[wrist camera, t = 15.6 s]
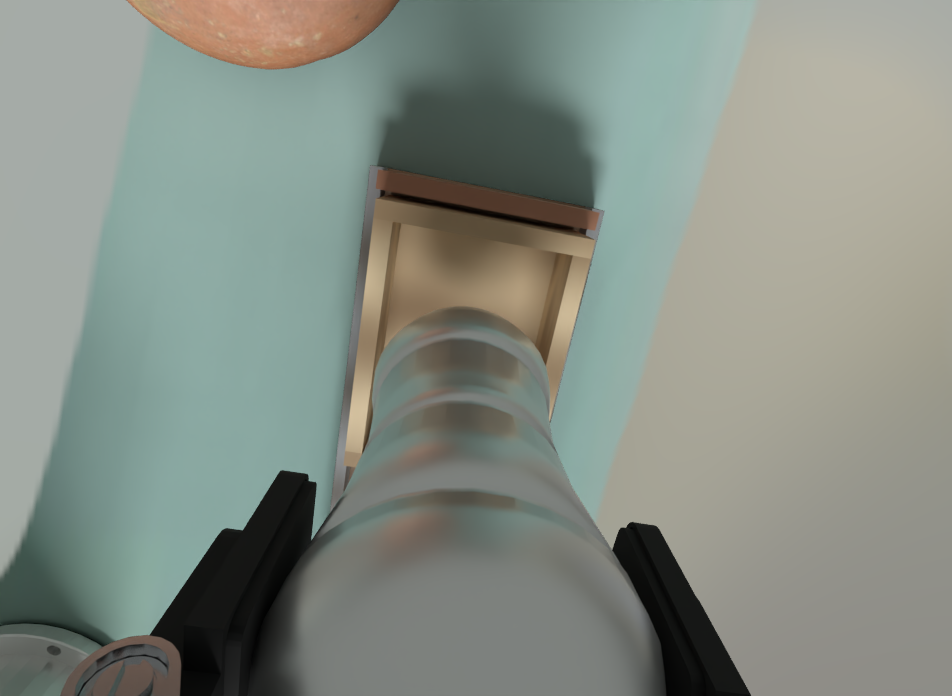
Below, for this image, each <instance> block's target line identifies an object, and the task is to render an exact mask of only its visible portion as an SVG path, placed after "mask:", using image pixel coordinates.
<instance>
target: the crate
mask: <svg viewBox="0 0 952 696" xmlns="http://www.w3.org/2000/svg"><path fill="white" fill-rule="evenodd" d="M595 241H596V240H594V239H592V238H590V237H588V236H586V235H584V234H582V233H580V232H578V231H576V230H573V229H567V228H562V227H557V226H552V225H546V224H541V223H536V222H531V221H526V220H520V219H515V218H510V217H505V216H499V215H494V214H489V213H484V212H479V211H473V210H468V209H463V208H458V207H452V206H447V205H442V204H437V203H432V202H426V201H421V200H416V199H411V198H405V197H400V196H395V195H387V196H383V197H379V198H376V201H375V209H374V217H373V225H372V234H371V242H370V250H369V258H368V267H367V275H366V283H365V291H364V300H363V308H362V316H361V324H360V333H359V341H358V349H357V357H356V365H355V374H354V382H353V390H352V398H351V407H350V415H349V423H348V431H347V440H346V448H345V456H344V464H343V466H350V467H356V466H357V464H358V462H359V460H360V457H361V456H362V454H363V452H364V449H365V447H366V445H367V443H368V440H369V435H370V429H371V424H372V419H373V405H372V393H373V383H374V376H375V369H376V367H377V364H378V361H379V359H380V356H381V354H382V352H383V351H384V349H385V348H386V346H387V345H388V343H389V342H390V340H391V339H392V338H393V337H394V336H395V335H396V334H397V333H398V332H399V331H400V330H402V329H403V328H404V327H405V326H407V325H408V324H410V323H411V322H413V321H414V320H416V319H417V318H419V317H420V316H422V315H424V314H427V313H429V312H432V311H434V310H437V309H442V308H447V307H454V306H469V307H474V308H480V309H484V310H487V311H490V312H492V313H495V314H498V315H499V316H501V317H503V318H504V319H506V320H508V321H509V322H511V323H512V324H514V325H515V326H516V327H517V328H519V329H520V330H521V331H522V332H523V333H524V334H525V335H526V336H527V337H528V338H529V339H530V340H531V341H532V342H533V344H534V345H535V347H536V348H537V349H538V351H539V352H540V354H541V356H542V359H543V361H544V363H545V366H546V369H547V374H548V379H549V388H550V414H549V422H550V418H551V414H552V410H553V406H554V402H555V398H556V394H557V390H558V387H559V383H560V379H561V375H562V371H563V367H564V363H565V359H566V355H567V351H568V347H569V343H570V339H571V336H572V332H573V328H574V324H575V320H576V316H577V312H578V308H579V304H580V300H581V296H582V292H583V289H584V285H585V281H586V277H587V273H588V269H589V265H590V261H591V257H592V253H593V249H594V245H595Z"/></svg>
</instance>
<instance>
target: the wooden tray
mask: <svg viewBox="0 0 952 696" xmlns="http://www.w3.org/2000/svg"><path fill="white" fill-rule="evenodd" d="M387 195H395V196H400V197H405V198H411V199H416V200H421V201H426V202H432V203H437V204H442V205H447V206H452V207H458V208H463V209H468V210H473V211H479V212H484V213H489V214H494V215H499V216H505V217H510V218H515V219H520V220H526V221H531V222H536V223H541V224H546V225H552V226H557V227H562V228H567V229H573V230H576V231H578V232H580V233H582V234H584V235H586V236H588V237H590V238H592V239H594V240H596V241H595V245H594V249H593V253H592V257H591V261H590V265H589V269H588V273H587V277H586V281H585V285H586V282H587V278H588V274H589V270H590V266H591V262H592V258H593V254H594V250H595V246H596V242H597V239H598V235H599V231H600V227H601V223H602V219H603V215H604V211H603V210H599V209H595V208H590V207H585V206H580V205H575V204H569V203H564V202H559V201H554V200H549V199H544V198H539V197H534V196H528V195H523V194H518V193H513V192H508V191H503V190H498V189H493V188H488V187H482V186H477V185H472V184H467V183H462V182H457V181H452V180H447V179H442V178H436V177H431V176H426V175H421V174H416V173H411V172H406V171H401V170H395V169H390V168H385V167H380V166H373V165H370V171H369V180H368V189H367V197H366V206H365V215H364V223H363V232H362V240H361V249H360V258H359V266H358V275H357V284H356V292H355V301H354V310H353V318H352V327H351V335H350V344H349V353H348V361H347V370H346V379H345V387H344V396H343V404H342V413H341V422H340V430H339V439H338V448H337V456H336V465H335V473H334V482H333V491H332V499H331V508H330V512H331V511H332V509H333V508H334V506H335V505H336V503H337V502H338V500H339V499H340V497H341V496H342V494H343V493H344V491H345V489H346V487H347V485H348V483H349V481H350V479H351V477H352V475H353V472H354V470H355V468H356V467H350V466H343V464H344V456H345V448H346V440H347V431H348V423H349V415H350V407H351V398H352V390H353V382H354V374H355V365H356V357H357V349H358V341H359V333H360V324H361V316H362V308H363V300H364V291H365V283H366V275H367V267H368V258H369V250H370V242H371V234H372V225H373V217H374V209H375V201H376V198H379V197H383V196H387ZM585 285H584V289H585ZM584 289H583V292H582V296H581V300H580V304H579V308H578V312H577V316H576V320H575V324H574V328H575V325H576V321H577V317H578V313H579V309H580V305H581V301H582V297H583V293H584ZM574 328H573V332H574ZM573 332H572V336H573ZM572 336H571V339H570V343H569V347H568V351H567V355H566V359H565V363H564V367H563V371H564V368H565V364H566V360H567V356H568V352H569V348H570V344H571V340H572ZM563 371H562V375H563ZM562 375H561V379H562ZM561 379H560V383H561ZM560 383H559V387H560ZM559 387H558V390H557V394H556V398H555V402H554V406H553V410H552V414H553V411H554V407H555V403H556V399H557V395H558V391H559ZM552 414H551V418H552ZM551 418H550V422H551Z"/></svg>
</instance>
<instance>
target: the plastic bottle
mask: <svg viewBox="0 0 952 696" xmlns="http://www.w3.org/2000/svg"><path fill="white" fill-rule="evenodd" d="M372 405H373V419H372V424H371V429H370V435H369V440H368V443H367V445H366V447H365V449H364V452H363V454H362V456H361V457H360V460H359V462H358V464H357V466H356V468H355V470H354V472H353V475H352V477H351V479H350V481H349V483H348V485H347V487H346V489H345V491H344V493H343V494H342V496H341V497H340V499H339V500H338V502H337V503H336V505H335V506H334V508H333V509H332V511H331V512H330V514H329V515H328V517H327V518H326V520H325V521H324V523H323V524H322V526H321V527H320V529H319V530H318V532H317V533H316V535H315V536H314V538H313V539H312V541H311V542H310V544H309V545H308V547H307V548H306V550H305V551H304V553H303V554H302V556H301V557H300V559H299V560H298V562H297V563H296V565H295V566H294V567H293V569H292V570H291V572H290V573H289V575H288V576H287V577H286V579H285V581H284V583H283V585H282V587H281V589H280V590H279V592H278V594H277V596H276V598H275V600H274V602H273V604H272V605H271V607H270V609H269V611H268V612H267V614H266V616H265V618H264V620H263V622H262V625H261V628H260V630H259V633H258V637H257V641H256V645H255V649H254V653H253V657H252V661H251V669H250V678H249V688H248V696H667V694H666V682H665V671H664V664H663V657H662V650H661V643H660V640H659V638H658V636H657V633H656V631H655V629H654V626H653V624H652V622H651V620H650V617H649V615H648V613H647V611H646V609H645V607H644V605H643V603H642V602H641V600H640V598H639V596H638V594H637V592H636V590H635V588H634V586H633V584H632V582H631V580H630V578H629V576H628V574H627V572H626V571H625V570H624V569H623V567H622V566H621V565H620V562H619V560H618V559H617V557H616V556H615V554H614V552H613V551H612V549H611V548H610V546H609V545H608V543H607V541H606V540H605V538H604V537H603V535H602V534H601V532H600V530H599V529H598V527H597V526H596V524H595V523H594V521H593V519H592V518H591V516H590V515H589V513H588V511H587V510H586V508H585V507H584V505H583V504H582V502H581V500H580V499H579V497H578V496H577V494H576V493H575V491H574V489H573V488H572V486H571V483H570V481H569V479H568V476H567V474H566V472H565V470H564V467H563V465H562V463H561V461H560V458H559V456H558V454H557V452H556V449H555V447H554V445H553V439H552V433H551V428H550V422H549V414H550V388H549V379H548V374H547V369H546V366H545V363H544V361H543V359H542V356H541V354H540V352H539V351H538V349H537V348H536V347H535V345H534V344H533V342H532V341H531V340H530V339H529V338H528V337H527V336H526V335H525V334H524V333H523V332H522V331H521V330H520V329H519V328H517V327H516V326H515V325H514V324H512V323H511V322H509V321H508V320H506V319H504V318H503V317H501V316H499V315H498V314H495V313H492V312H490V311H487V310H484V309H480V308H474V307H469V306H454V307H447V308H442V309H437V310H434V311H432V312H429V313H427V314H424V315H422V316H420V317H419V318H417V319H416V320H414V321H413V322H411V323H410V324H408V325H407V326H405V327H404V328H403V329H402V330H400V331H399V332H398V333H397V334H396V335H395V336H394V337H393V338H392V339H391V340H390V342H389V343H388V345H387V346H386V348H385V349H384V351H383V352H382V354H381V356H380V359H379V361H378V364H377V367H376V369H375V376H374V383H373V393H372Z"/></svg>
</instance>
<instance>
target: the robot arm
mask: <svg viewBox="0 0 952 696" xmlns="http://www.w3.org/2000/svg"><path fill="white" fill-rule="evenodd" d="M308 480H309V478H308V474H303V473H297V472H290V471H283V470H282V471H280V472H279V474H278V475H277V477H276V478H275V480H274V482H273V483H272V485H271V486H270V488H269V490H268V491H267V493H266V494H265V496H264V498H263V499H262V501H261V502H260V504H259V506H258V507H257V509H256V510H255V512H254V514H253V515H252V517H251V518H250V520H249V522H248V523H247V525H246V526H245V528H244V530H235V529H228V528H226V529H224V530H222V531H221V533H220V534H219V535H218V536H217V538H216V539H215V541H214V542H213V543H212V545H211V546H210V548H209V549H208V551H207V552H206V554H205V555H204V557H203V558H202V560H201V561H200V562H199V564H198V565H197V567H196V568H195V570H194V571H193V573H192V574H191V576H190V577H189V578H188V580H187V581H186V583H185V584H184V586H183V587H182V589H181V590H180V592H179V593H178V594H177V596H176V597H175V599H174V600H173V602H172V603H171V605H170V606H169V608H168V609H167V611H166V612H165V613H164V615H163V616H162V618H161V619H160V621H159V622H158V624H157V625H156V627H155V628H154V629H153V631H152V632H151V634H150V635H143V636H133V637H128V638H124V639H121V640H118V641H115V642H112V643H110V644H108V645H106V646H104V647H102V646H101V645H99V644H98V643H96V642H94V641H92V640H90V639H88V638H86V637H84V636H82V635H80V634H77V633H74V632H71V631H68V630H65V629H62V628H57V627H53V626H48V625H40V624H12V625H4V626H0V696H248V688H249V678H250V669H251V661H252V657H253V653H254V649H255V645H256V641H257V637H258V633H259V630H260V628H261V625H262V622H263V620H264V618H265V616H266V614H267V612H268V611H269V609H270V607H271V605H272V604H273V602H274V600H275V598H276V596H277V594H278V592H279V590H280V589H281V587H282V585H283V583H284V581H285V579H286V577H287V576H288V575H289V573H290V572H291V570H292V569H293V567H294V566H295V565H296V563H297V562H298V560H299V559H300V557H301V556H302V554H303V553H304V551H305V550H306V548H307V547H308V545H309V544H310V542H311V535H312V526H313V516H314V506H315V497H316V482H310V481H308ZM612 551H613V552H614V554H615V556H616V557H617V559H618V560H619V562H620V565H621V566H622V567H623V569H624V570H625V571H626V572H627V574H628V576H629V578H630V580H631V582H632V584H633V586H634V588H635V590H636V592H637V594H638V596H639V598H640V600H641V602H642V603H643V605H644V607H645V609H646V611H647V613H648V615H649V617H650V620H651V622H652V624H653V626H654V629H655V631H656V633H657V636H658V638H659V640H660V643H661V650H662V657H663V664H664V671H665V682H666V694H667V696H751V694H750V693H749V691H748V689H747V687H746V685H745V683H744V682H743V680H742V678H741V676H740V674H739V672H738V671H737V669H736V667H735V665H734V663H733V662H732V660H731V658H730V656H729V654H728V652H727V651H726V649H725V647H724V645H723V643H722V641H721V640H720V638H719V636H718V634H717V632H716V631H715V629H714V627H713V625H712V623H711V621H710V620H709V618H708V616H707V614H706V612H705V611H704V609H703V607H702V605H701V603H700V601H699V600H698V599H697V597H696V596H695V594H694V592H693V590H692V589H691V587H690V585H689V583H688V581H687V580H686V578H685V576H684V574H683V572H682V570H681V568H680V567H679V565H678V563H677V561H676V559H675V557H674V556H673V554H672V552H671V550H670V548H669V547H668V545H667V543H666V541H665V539H664V537H663V536H662V534H661V532H660V530H659V529H658V527H657V526H654V525H647V524H641V523H634V522H631V523H629V524H628V525H627V527H626V528H620V530H619V532H618V534H617V537H616V541H615V543H614V547H613V550H612Z"/></svg>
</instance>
